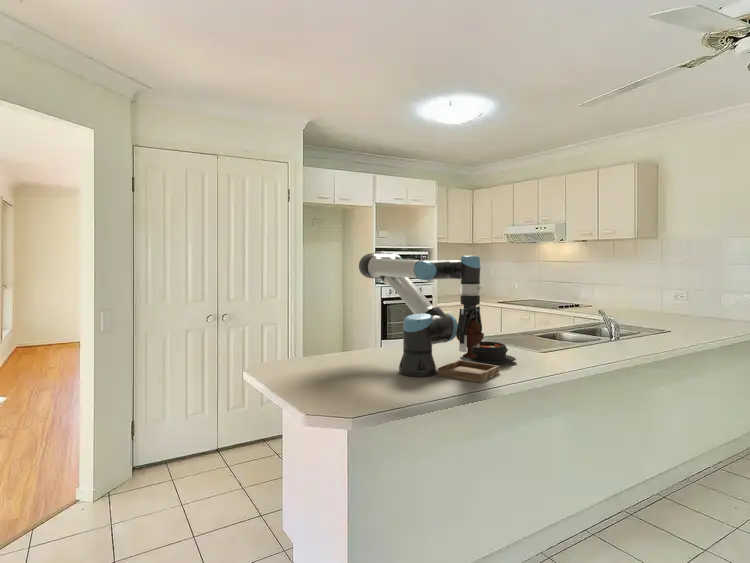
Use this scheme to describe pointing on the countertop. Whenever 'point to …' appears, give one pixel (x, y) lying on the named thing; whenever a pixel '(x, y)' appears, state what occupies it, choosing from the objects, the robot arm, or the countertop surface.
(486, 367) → the walnut tray
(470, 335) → the ice cream bowl
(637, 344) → the countertop surface
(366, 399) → the countertop surface
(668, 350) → the countertop surface
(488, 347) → the casserole
